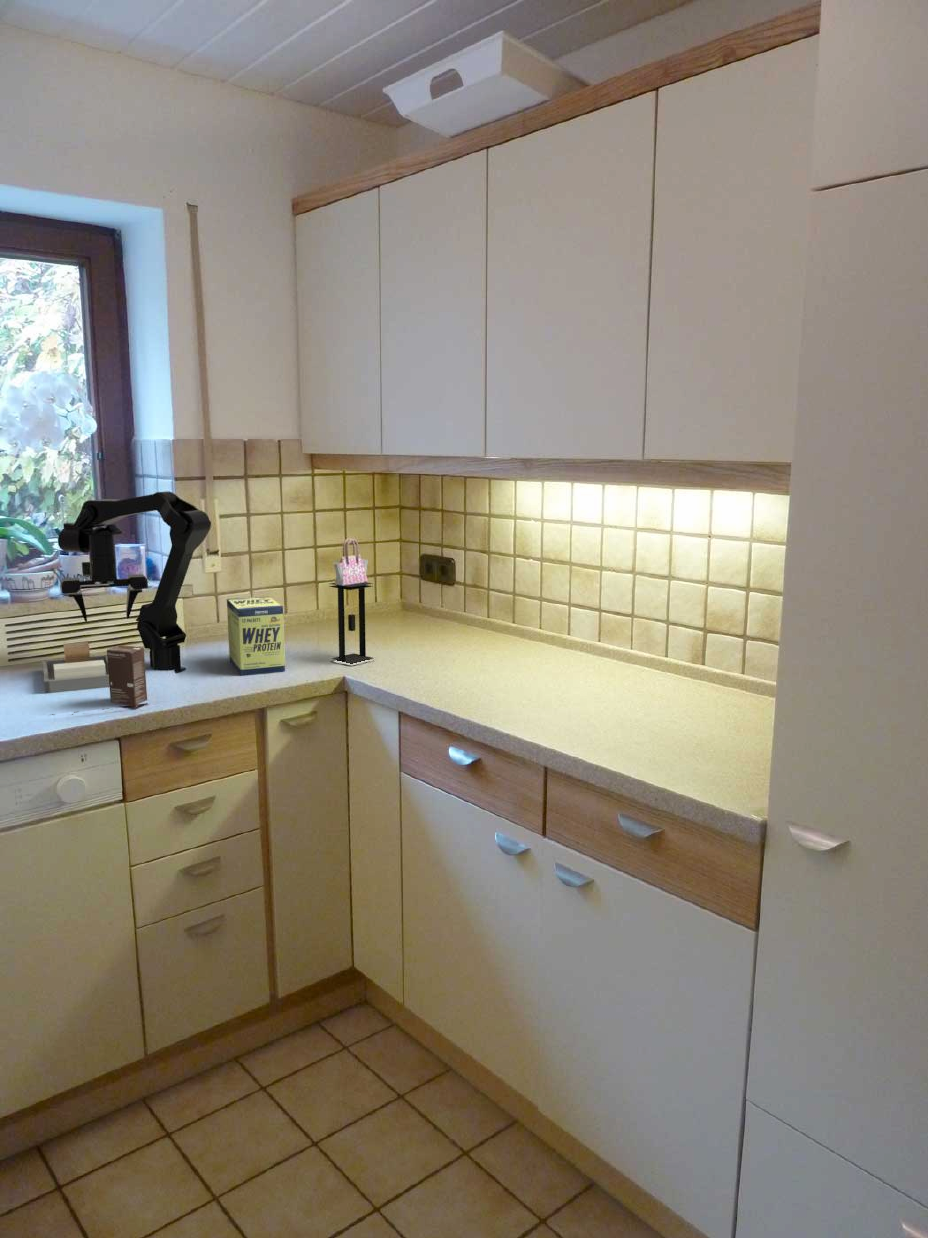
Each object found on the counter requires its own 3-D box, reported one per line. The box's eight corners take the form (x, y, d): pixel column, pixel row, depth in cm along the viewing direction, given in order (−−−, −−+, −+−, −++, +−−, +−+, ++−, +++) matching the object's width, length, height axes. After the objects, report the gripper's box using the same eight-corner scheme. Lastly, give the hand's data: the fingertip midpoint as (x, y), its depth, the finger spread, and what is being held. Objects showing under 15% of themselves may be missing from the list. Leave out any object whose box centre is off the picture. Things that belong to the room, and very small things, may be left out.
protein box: (241, 676, 210) (238, 609, 207) (228, 661, 224) (225, 598, 221) (286, 672, 215) (284, 606, 212) (271, 657, 229) (269, 595, 226)
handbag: (357, 655, 231) (355, 535, 225) (378, 660, 226) (377, 537, 220) (325, 662, 223) (322, 538, 218) (346, 667, 219) (343, 541, 213)
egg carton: (106, 685, 198) (105, 664, 197) (55, 690, 194) (54, 669, 193) (104, 679, 203) (103, 659, 202) (55, 684, 199) (53, 664, 198)
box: (109, 707, 186) (105, 649, 183) (124, 701, 190) (120, 644, 188) (135, 710, 184) (131, 651, 182) (149, 704, 188) (145, 646, 186)
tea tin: (91, 676, 205) (89, 646, 204) (67, 679, 203) (64, 648, 202) (89, 671, 210) (87, 641, 208) (65, 673, 208) (63, 643, 206)
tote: (117, 690, 198) (116, 674, 197) (46, 698, 192) (44, 681, 191) (109, 669, 216) (108, 654, 215) (43, 675, 210) (42, 660, 209)
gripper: (140, 548, 226) (144, 611, 229) (57, 551, 218) (62, 616, 221) (146, 553, 216) (150, 619, 219) (59, 557, 208) (64, 625, 211)
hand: (107, 619), depth 218 cm, fingers open, 9 cm apart
